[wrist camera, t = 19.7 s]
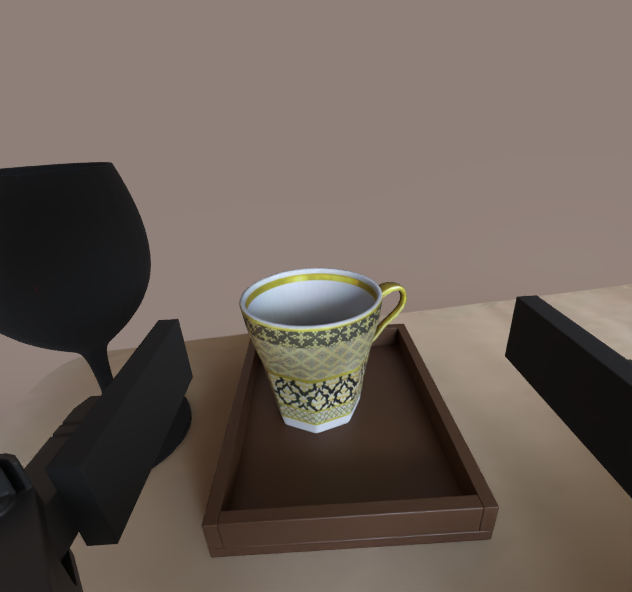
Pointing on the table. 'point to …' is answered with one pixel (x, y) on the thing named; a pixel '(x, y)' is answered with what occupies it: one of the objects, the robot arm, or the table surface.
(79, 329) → the wine glass
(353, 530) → the tray
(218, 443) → the table surface
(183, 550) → the table surface
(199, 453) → the table surface
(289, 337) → the ceramic cup
